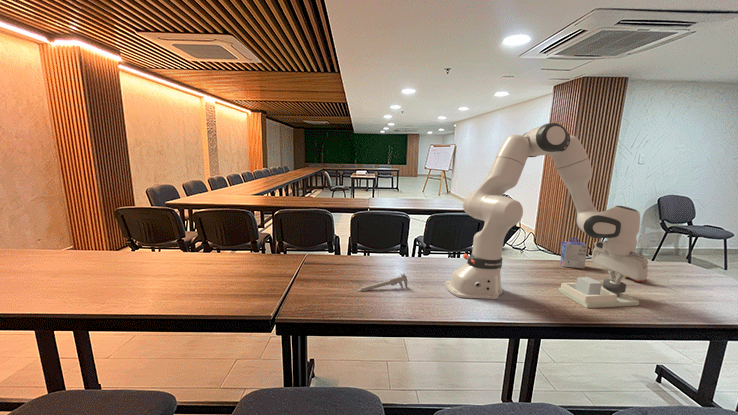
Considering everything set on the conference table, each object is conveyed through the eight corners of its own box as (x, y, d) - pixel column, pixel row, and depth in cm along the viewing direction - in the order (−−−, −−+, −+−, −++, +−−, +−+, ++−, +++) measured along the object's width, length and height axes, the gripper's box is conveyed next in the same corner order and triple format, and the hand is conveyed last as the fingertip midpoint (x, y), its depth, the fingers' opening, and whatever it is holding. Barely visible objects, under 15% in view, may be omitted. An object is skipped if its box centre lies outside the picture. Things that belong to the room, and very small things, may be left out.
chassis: (586, 307, 112) (588, 297, 111) (558, 291, 126) (559, 282, 125) (638, 305, 115) (640, 295, 115) (605, 289, 129) (606, 280, 128)
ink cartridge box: (580, 265, 158) (583, 237, 156) (585, 268, 153) (589, 240, 150) (558, 263, 160) (562, 236, 158) (563, 267, 155) (567, 239, 152)
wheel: (614, 293, 117) (615, 286, 117) (598, 285, 124) (599, 279, 123) (630, 292, 118) (631, 286, 118) (613, 284, 125) (614, 278, 124)
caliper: (406, 287, 127) (406, 272, 126) (407, 288, 126) (407, 273, 125) (357, 290, 122) (358, 275, 121) (358, 292, 121) (358, 276, 120)
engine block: (587, 298, 116) (590, 283, 115) (575, 291, 122) (577, 277, 121) (599, 298, 117) (601, 283, 116) (586, 291, 123) (588, 277, 122)
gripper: (656, 256, 109) (649, 293, 111) (604, 240, 128) (599, 272, 131) (640, 257, 108) (633, 294, 110) (591, 241, 128) (586, 272, 130)
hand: (614, 282), depth 120 cm, fingers closed
